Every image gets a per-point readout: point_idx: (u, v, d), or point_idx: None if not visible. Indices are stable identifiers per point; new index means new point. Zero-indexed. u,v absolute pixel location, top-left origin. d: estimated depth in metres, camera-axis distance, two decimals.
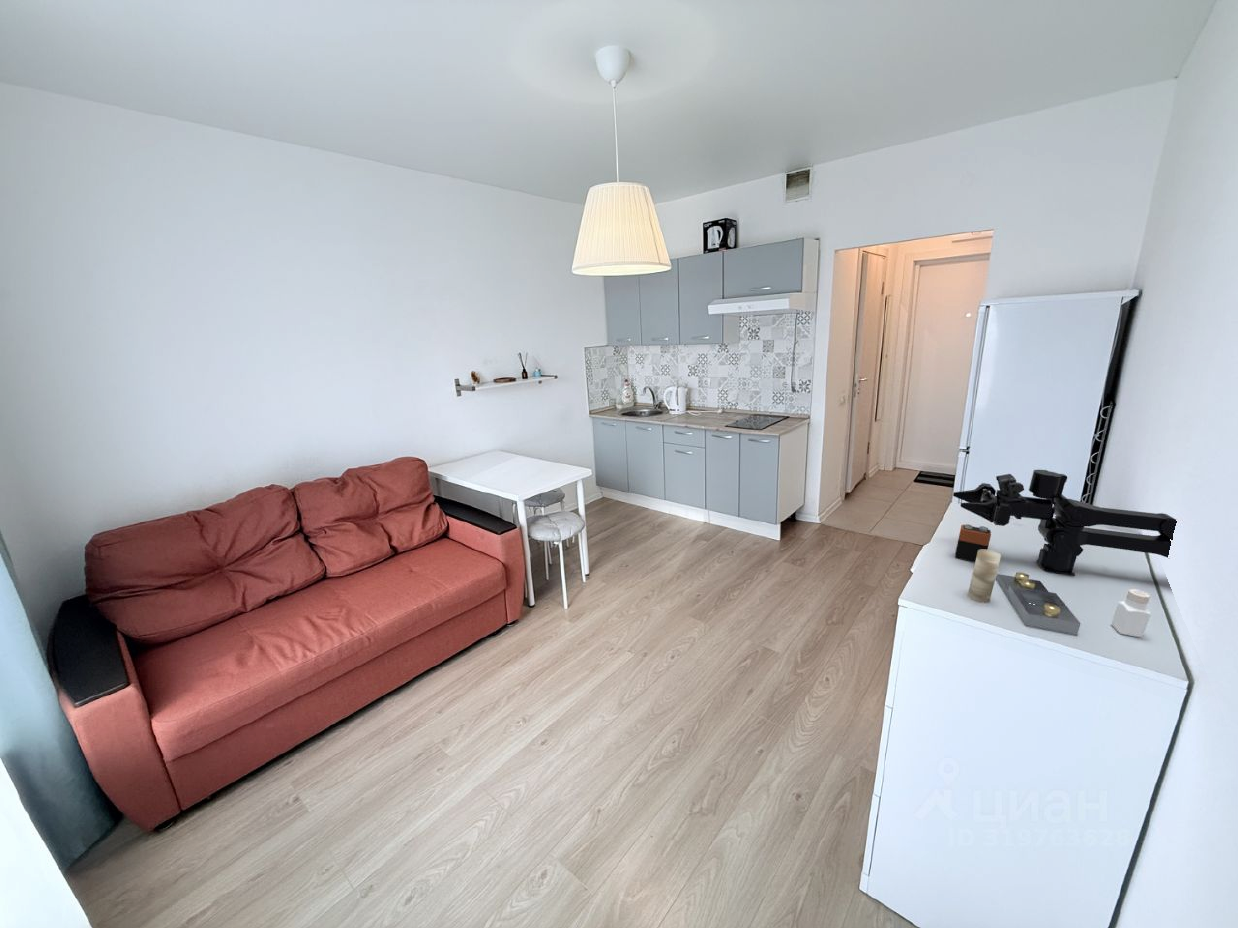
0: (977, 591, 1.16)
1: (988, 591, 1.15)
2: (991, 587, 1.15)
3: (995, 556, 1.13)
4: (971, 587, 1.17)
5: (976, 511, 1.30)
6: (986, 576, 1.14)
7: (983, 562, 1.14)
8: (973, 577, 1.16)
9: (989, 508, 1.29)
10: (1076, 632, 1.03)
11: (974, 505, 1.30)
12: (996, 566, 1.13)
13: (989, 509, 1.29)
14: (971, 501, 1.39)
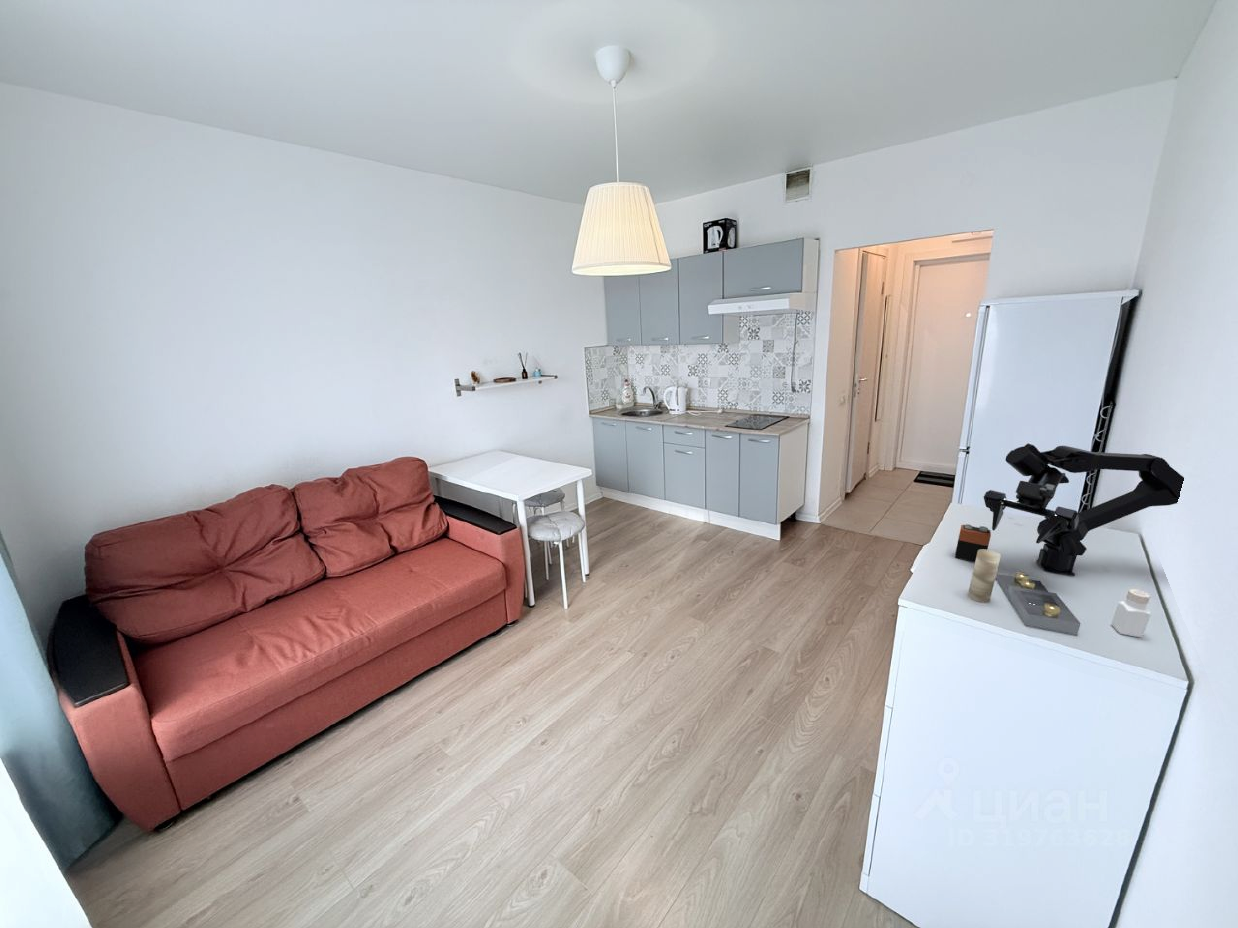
0: (977, 591, 1.16)
1: (988, 591, 1.15)
2: (991, 587, 1.15)
3: (995, 556, 1.13)
4: (971, 587, 1.17)
5: (1049, 534, 1.19)
6: (986, 576, 1.14)
7: (983, 562, 1.14)
8: (973, 577, 1.16)
9: None
10: (1076, 632, 1.03)
11: (1047, 533, 1.18)
12: (996, 566, 1.13)
13: None
14: (1000, 517, 1.28)
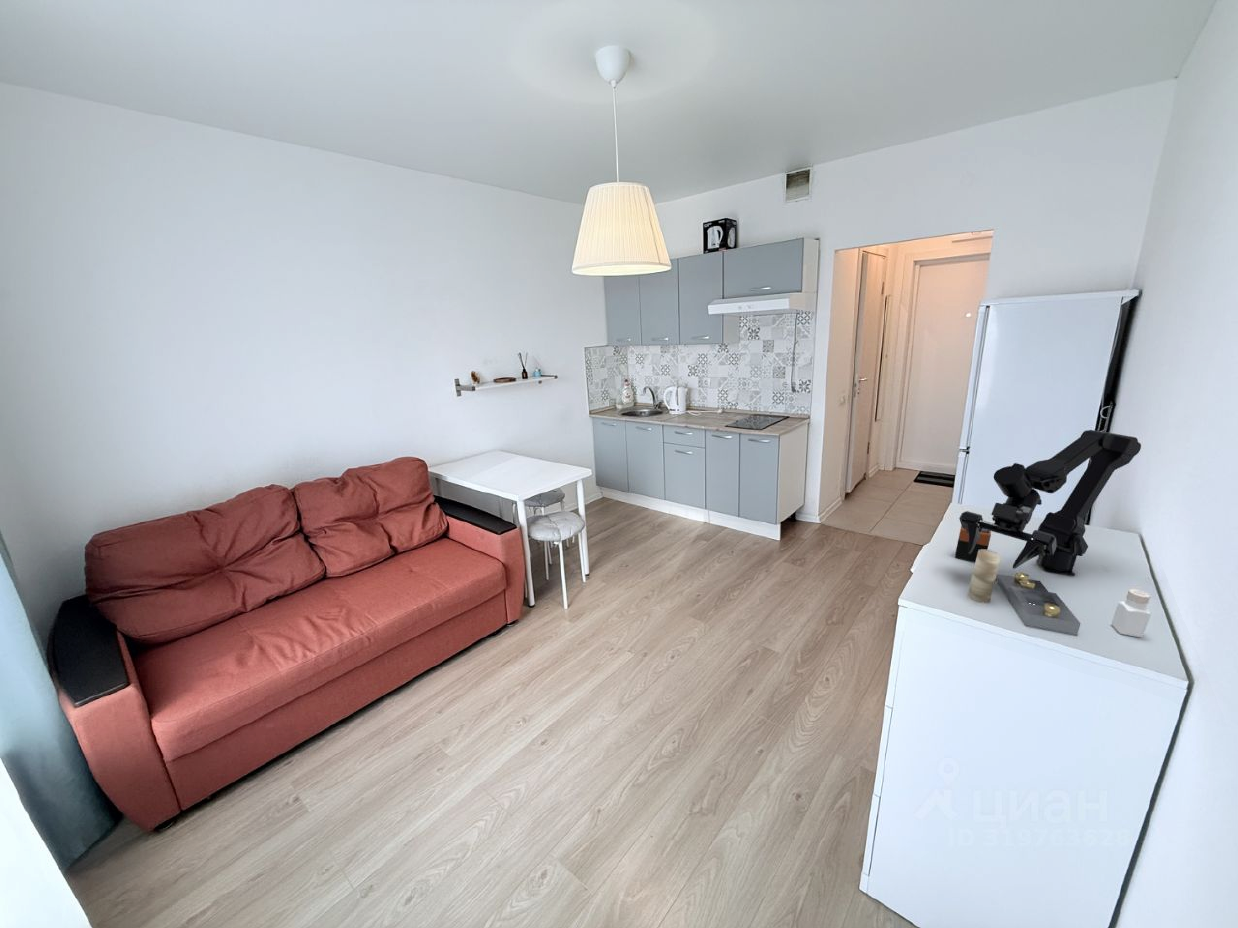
0: (977, 591, 1.16)
1: (988, 591, 1.15)
2: (991, 587, 1.15)
3: (995, 556, 1.13)
4: (971, 587, 1.17)
5: (1026, 559, 1.13)
6: (986, 576, 1.14)
7: (983, 562, 1.14)
8: (973, 577, 1.16)
9: None
10: (1076, 632, 1.03)
11: (1024, 558, 1.12)
12: (996, 566, 1.13)
13: None
14: (977, 540, 1.22)
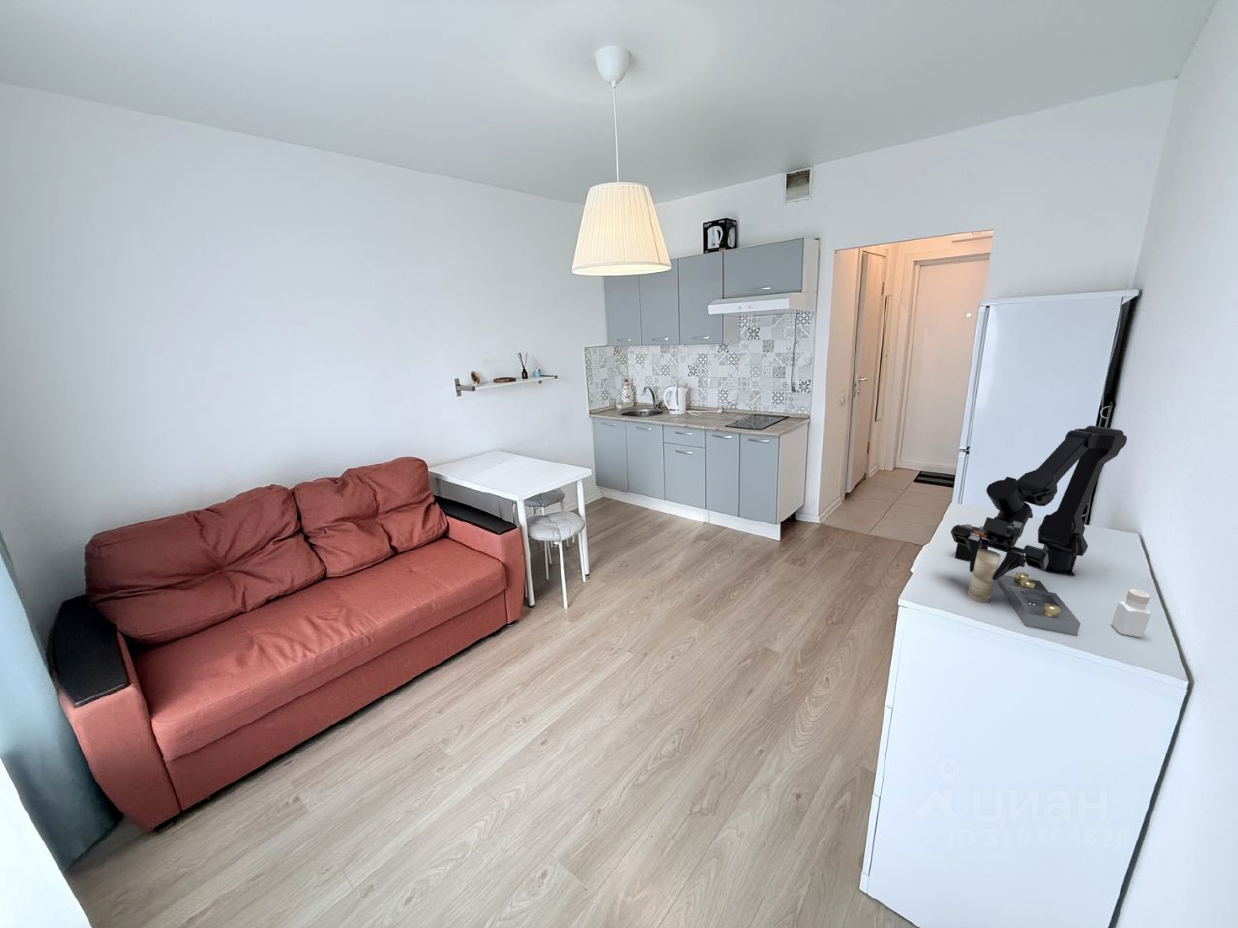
0: (977, 591, 1.16)
1: (988, 591, 1.15)
2: (991, 587, 1.15)
3: (995, 556, 1.13)
4: (971, 587, 1.17)
5: (1006, 570, 1.13)
6: (986, 576, 1.14)
7: (983, 562, 1.14)
8: (973, 577, 1.16)
9: None
10: (1076, 632, 1.03)
11: (1003, 570, 1.13)
12: (996, 566, 1.13)
13: None
14: None
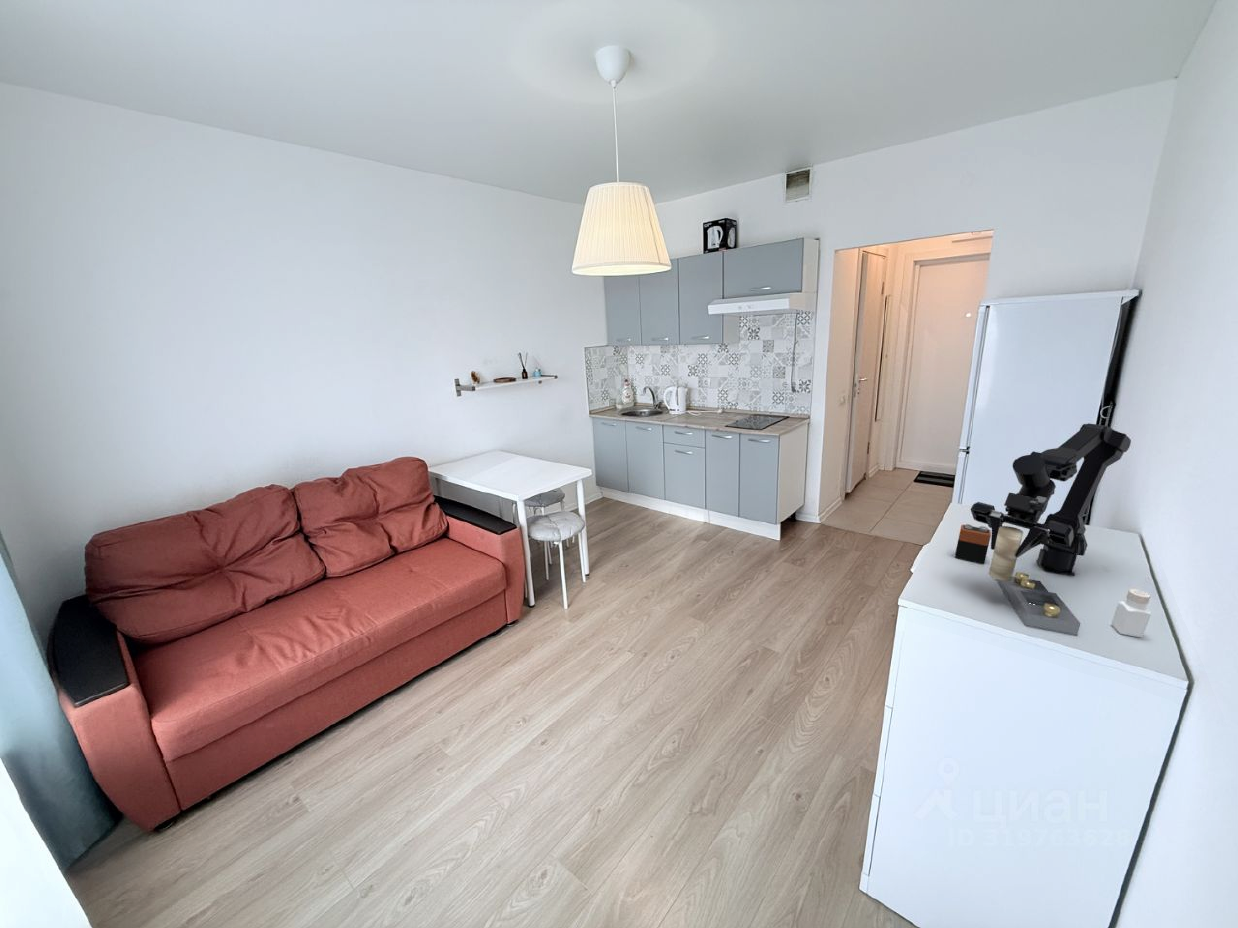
0: (998, 569, 1.12)
1: (1010, 569, 1.11)
2: (1013, 565, 1.11)
3: (1017, 532, 1.09)
4: (992, 565, 1.14)
5: (1029, 547, 1.10)
6: (1008, 553, 1.11)
7: (1005, 539, 1.10)
8: (994, 555, 1.13)
9: None
10: (1076, 632, 1.03)
11: (1026, 546, 1.09)
12: (1018, 543, 1.10)
13: None
14: None
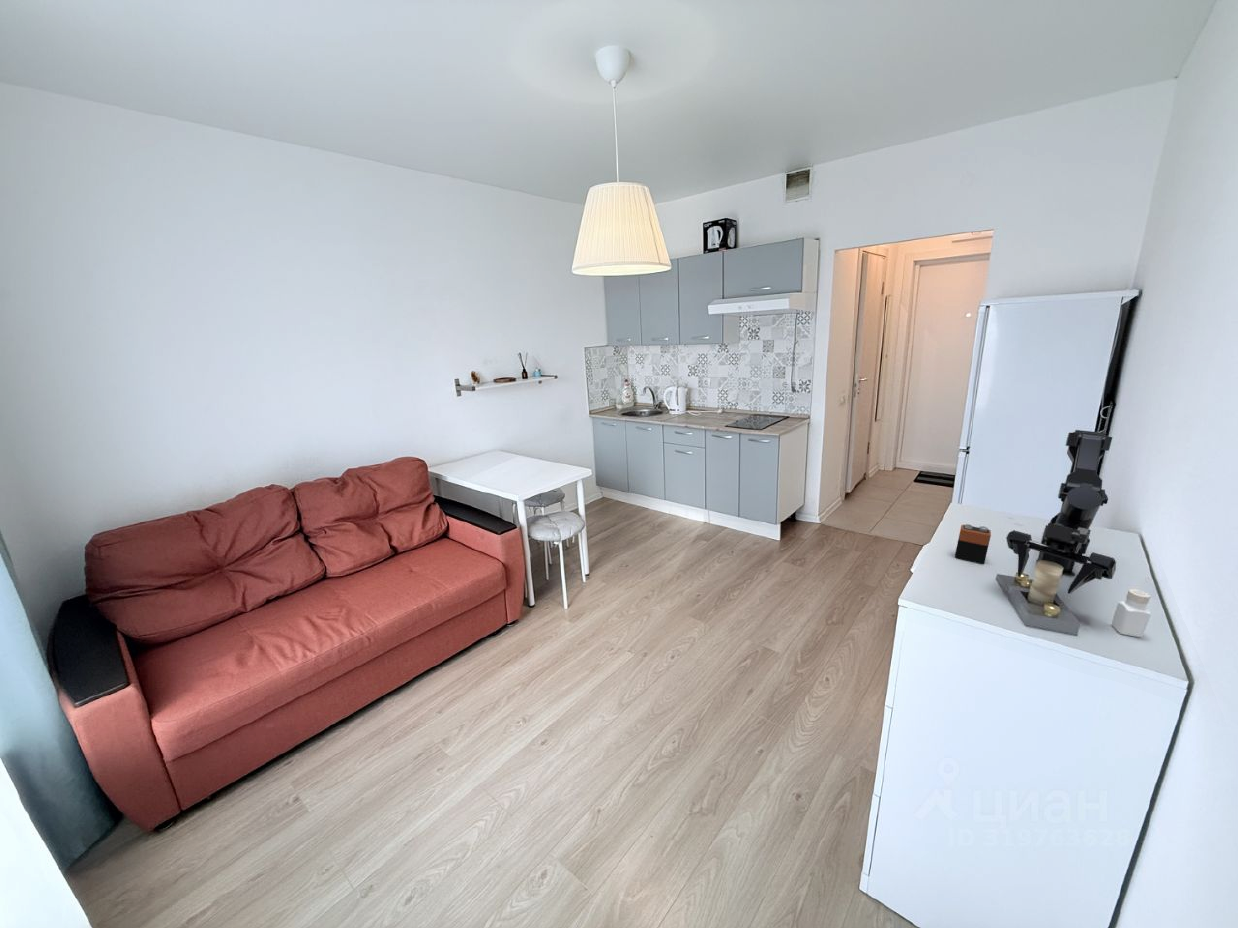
0: None
1: None
2: (1052, 600, 1.09)
3: (1057, 568, 1.07)
4: (1029, 600, 1.12)
5: (1082, 583, 1.06)
6: (1047, 589, 1.08)
7: (1044, 574, 1.08)
8: (1032, 589, 1.11)
9: None
10: (1076, 632, 1.03)
11: (1080, 582, 1.05)
12: (1058, 578, 1.07)
13: None
14: (1026, 561, 1.15)
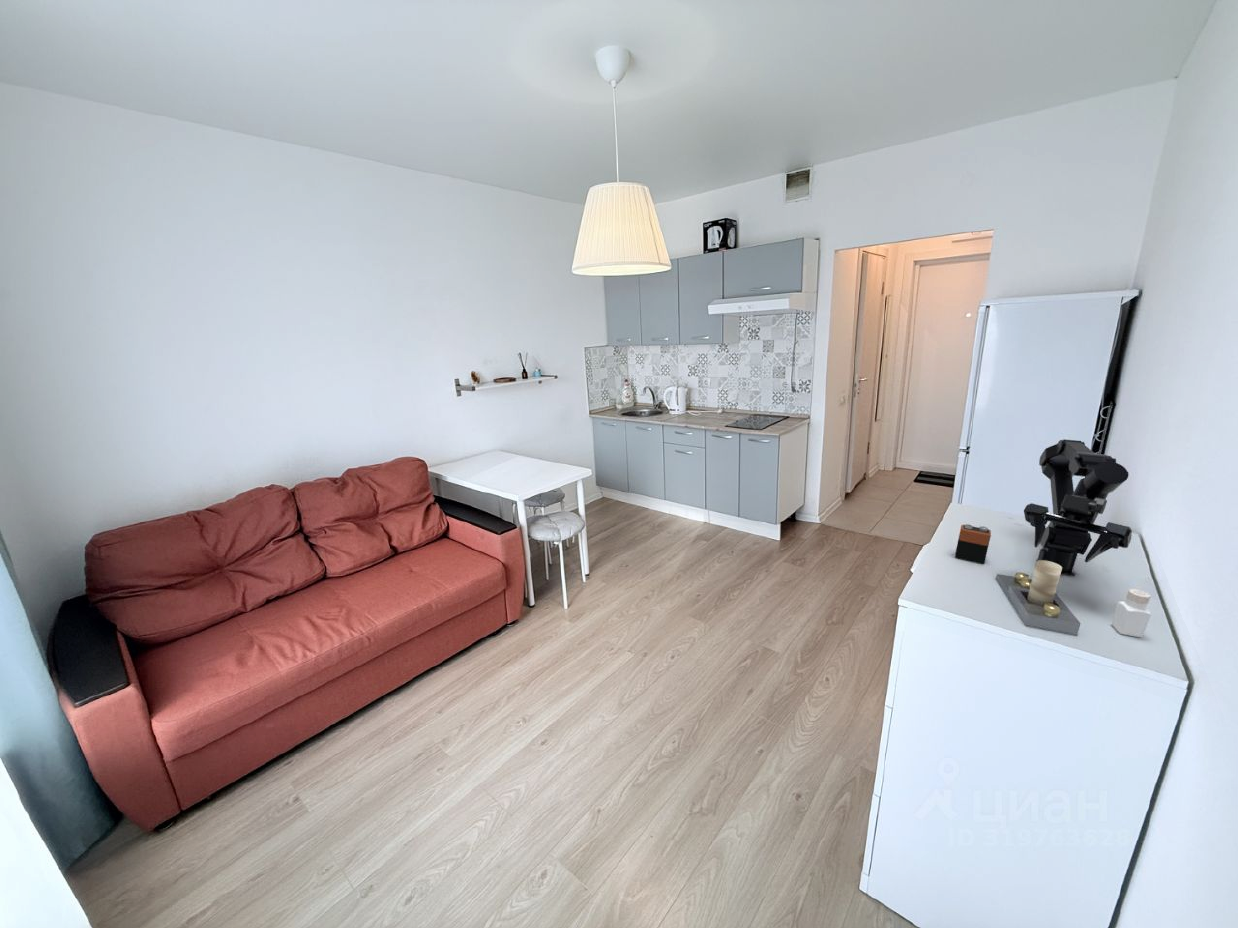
0: None
1: None
2: (1051, 600, 1.09)
3: (1056, 568, 1.07)
4: (1029, 600, 1.12)
5: (1099, 552, 1.10)
6: (1046, 589, 1.08)
7: (1043, 574, 1.08)
8: (1031, 589, 1.11)
9: None
10: (1076, 632, 1.03)
11: (1097, 551, 1.09)
12: (1057, 578, 1.07)
13: None
14: (1043, 533, 1.19)
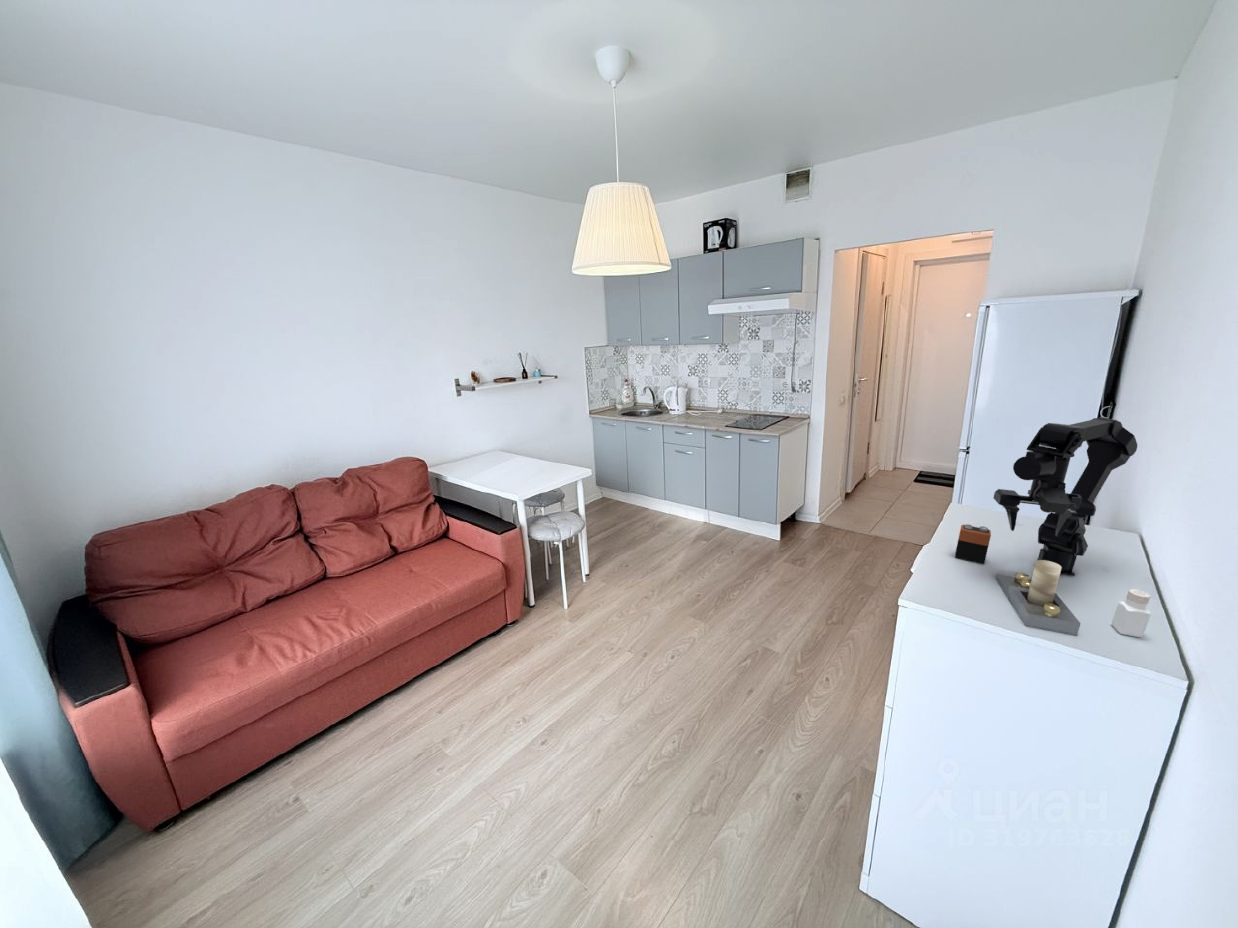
0: (1036, 604, 1.10)
1: None
2: (1051, 600, 1.09)
3: (1056, 567, 1.07)
4: (1029, 600, 1.12)
5: None
6: (1046, 589, 1.08)
7: (1043, 574, 1.08)
8: (1031, 589, 1.11)
9: None
10: (1076, 632, 1.03)
11: None
12: (1057, 578, 1.08)
13: None
14: None
